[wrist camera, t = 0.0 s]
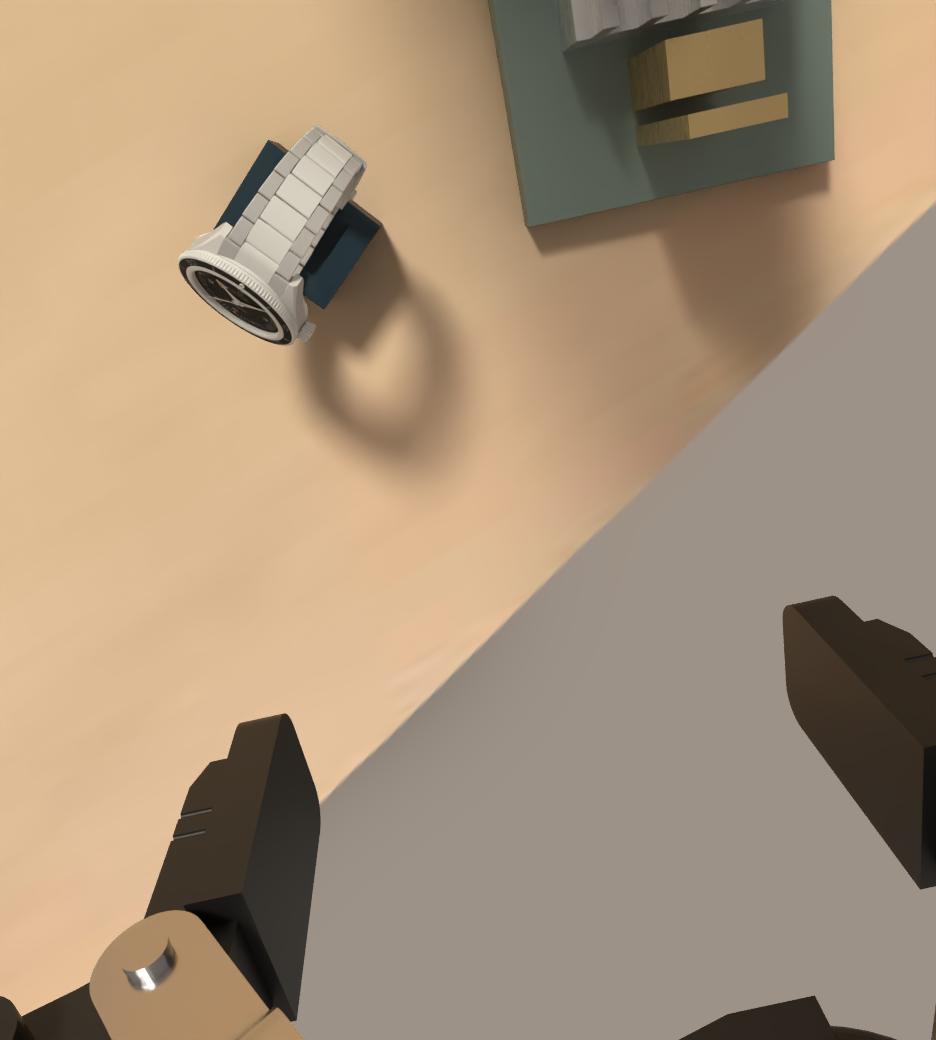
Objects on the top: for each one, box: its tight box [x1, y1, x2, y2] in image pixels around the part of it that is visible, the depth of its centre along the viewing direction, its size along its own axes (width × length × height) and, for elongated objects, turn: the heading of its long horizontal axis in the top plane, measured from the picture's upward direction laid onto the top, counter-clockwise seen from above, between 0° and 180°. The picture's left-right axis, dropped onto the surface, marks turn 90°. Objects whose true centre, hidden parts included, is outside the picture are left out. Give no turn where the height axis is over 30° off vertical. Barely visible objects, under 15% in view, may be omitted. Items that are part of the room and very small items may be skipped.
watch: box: [177, 125, 382, 345], centre depth 32 cm, size 6×8×11 cm
